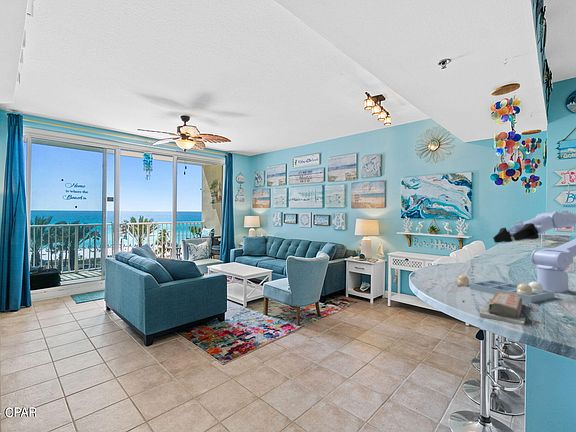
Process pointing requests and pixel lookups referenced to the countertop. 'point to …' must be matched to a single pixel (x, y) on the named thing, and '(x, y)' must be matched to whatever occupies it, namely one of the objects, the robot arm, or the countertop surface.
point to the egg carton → (509, 290)
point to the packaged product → (504, 308)
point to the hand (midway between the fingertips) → (504, 238)
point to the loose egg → (463, 281)
